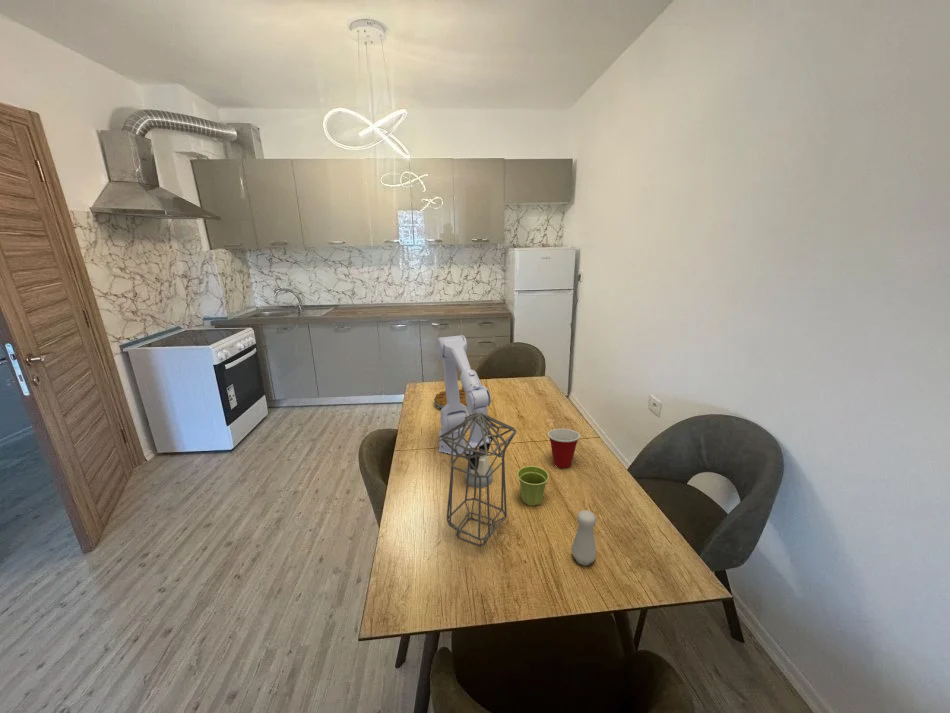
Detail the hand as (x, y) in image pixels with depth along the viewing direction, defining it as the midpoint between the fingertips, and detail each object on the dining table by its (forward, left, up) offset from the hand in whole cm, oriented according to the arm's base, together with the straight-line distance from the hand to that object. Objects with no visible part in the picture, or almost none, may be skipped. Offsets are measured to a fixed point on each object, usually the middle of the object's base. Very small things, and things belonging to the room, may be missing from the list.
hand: (479, 463), depth 124 cm
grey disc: (0, 0, -6) cm, 6 cm away
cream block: (0, 0, -3) cm, 3 cm away
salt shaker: (+37, -20, -6) cm, 43 cm away
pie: (-36, +53, -6) cm, 64 cm away
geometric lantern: (+10, -22, -6) cm, 25 cm away
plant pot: (+19, -3, -6) cm, 20 cm away
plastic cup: (+23, +20, -6) cm, 31 cm away
